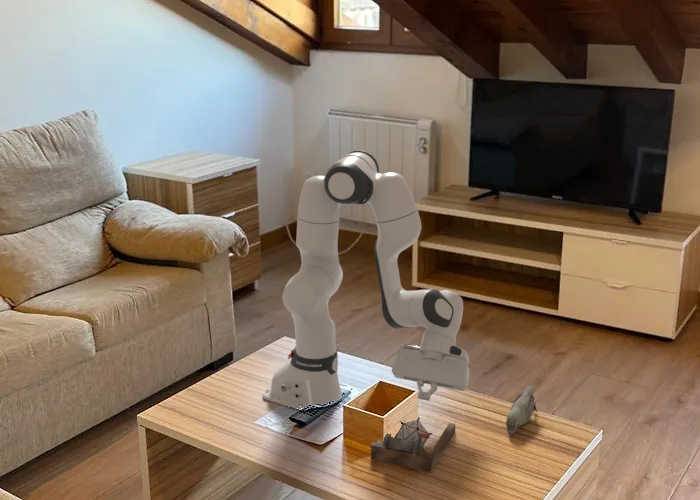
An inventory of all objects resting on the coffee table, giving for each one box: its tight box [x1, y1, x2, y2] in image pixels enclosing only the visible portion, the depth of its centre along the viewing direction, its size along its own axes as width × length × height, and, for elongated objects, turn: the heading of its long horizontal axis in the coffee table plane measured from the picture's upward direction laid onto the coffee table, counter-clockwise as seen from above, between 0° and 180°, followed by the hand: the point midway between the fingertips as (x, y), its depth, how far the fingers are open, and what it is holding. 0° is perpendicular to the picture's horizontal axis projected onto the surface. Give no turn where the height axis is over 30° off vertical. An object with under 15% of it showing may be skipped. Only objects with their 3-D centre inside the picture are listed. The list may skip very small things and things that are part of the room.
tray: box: [370, 423, 456, 473], centre depth 209 cm, size 16×21×10 cm
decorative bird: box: [505, 385, 538, 437], centre depth 221 cm, size 5×16×8 cm, turn 150°
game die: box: [394, 416, 433, 451], centre depth 208 cm, size 9×8×10 cm
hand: (423, 399), depth 217 cm, fingers closed
